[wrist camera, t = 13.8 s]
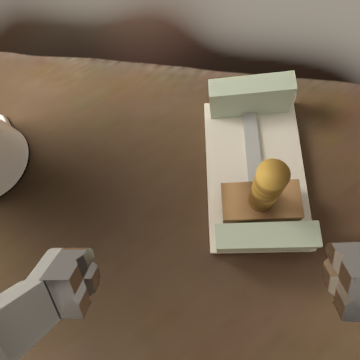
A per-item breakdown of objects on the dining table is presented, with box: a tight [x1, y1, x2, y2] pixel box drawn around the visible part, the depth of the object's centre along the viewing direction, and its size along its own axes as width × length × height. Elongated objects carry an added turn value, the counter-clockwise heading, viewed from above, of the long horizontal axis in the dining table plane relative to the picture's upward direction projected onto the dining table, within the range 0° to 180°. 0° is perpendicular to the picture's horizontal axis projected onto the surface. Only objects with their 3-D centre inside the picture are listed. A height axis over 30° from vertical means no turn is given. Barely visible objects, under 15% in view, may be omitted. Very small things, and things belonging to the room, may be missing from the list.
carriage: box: [221, 158, 305, 223], centre depth 33 cm, size 10×5×13 cm, turn 91°
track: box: [204, 71, 323, 254], centre depth 41 cm, size 14×24×8 cm, turn 1°
